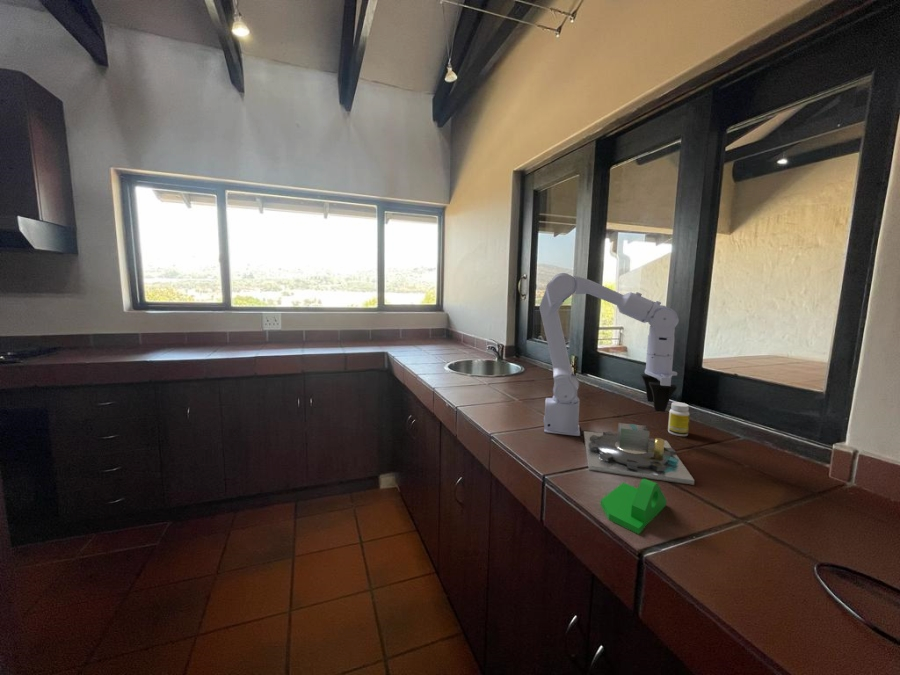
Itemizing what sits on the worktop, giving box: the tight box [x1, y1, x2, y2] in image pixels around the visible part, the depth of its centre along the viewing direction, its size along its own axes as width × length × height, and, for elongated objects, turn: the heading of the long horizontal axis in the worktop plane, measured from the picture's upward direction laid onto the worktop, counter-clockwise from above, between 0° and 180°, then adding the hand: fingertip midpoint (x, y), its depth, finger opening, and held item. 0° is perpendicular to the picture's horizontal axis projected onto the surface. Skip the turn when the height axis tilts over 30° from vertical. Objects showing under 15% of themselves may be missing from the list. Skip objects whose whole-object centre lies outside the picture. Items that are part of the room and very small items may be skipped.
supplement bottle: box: [667, 401, 691, 437], centre depth 96 cm, size 5×5×8 cm
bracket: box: [600, 478, 667, 535], centre depth 62 cm, size 12×8×7 cm, turn 130°
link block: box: [617, 422, 651, 452], centre depth 82 cm, size 6×4×5 cm, turn 72°
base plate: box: [583, 431, 696, 486], centre depth 83 cm, size 20×20×1 cm
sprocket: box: [588, 431, 680, 471], centre depth 82 cm, size 19×19×5 cm
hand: (655, 406), depth 89 cm, fingers open, 7 cm apart
